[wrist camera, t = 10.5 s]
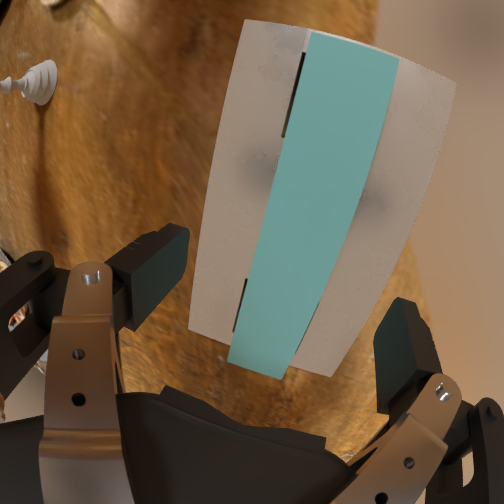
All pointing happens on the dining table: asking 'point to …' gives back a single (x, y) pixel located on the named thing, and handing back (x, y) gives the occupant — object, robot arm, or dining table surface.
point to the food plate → (2, 263)
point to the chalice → (34, 83)
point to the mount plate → (262, 176)
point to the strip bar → (312, 197)
